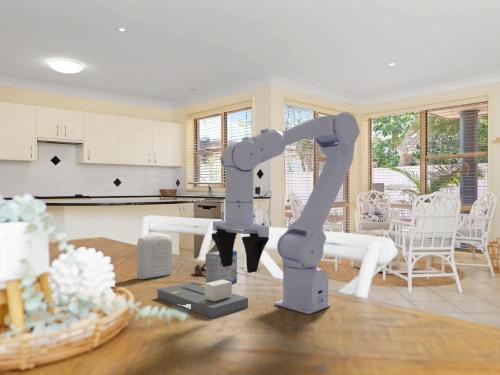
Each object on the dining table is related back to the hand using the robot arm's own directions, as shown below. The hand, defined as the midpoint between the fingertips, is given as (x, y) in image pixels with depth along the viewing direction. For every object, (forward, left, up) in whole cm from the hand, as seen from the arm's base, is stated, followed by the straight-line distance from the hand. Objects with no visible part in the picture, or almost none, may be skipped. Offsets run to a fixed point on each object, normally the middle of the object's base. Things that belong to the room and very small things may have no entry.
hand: (239, 269), depth 80 cm
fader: (+6, 0, -7) cm, 10 cm away
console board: (+12, 0, -9) cm, 16 cm away
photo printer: (+41, -6, -10) cm, 43 cm away
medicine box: (+21, -14, -10) cm, 27 cm away
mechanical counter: (+32, -21, -10) cm, 40 cm away
